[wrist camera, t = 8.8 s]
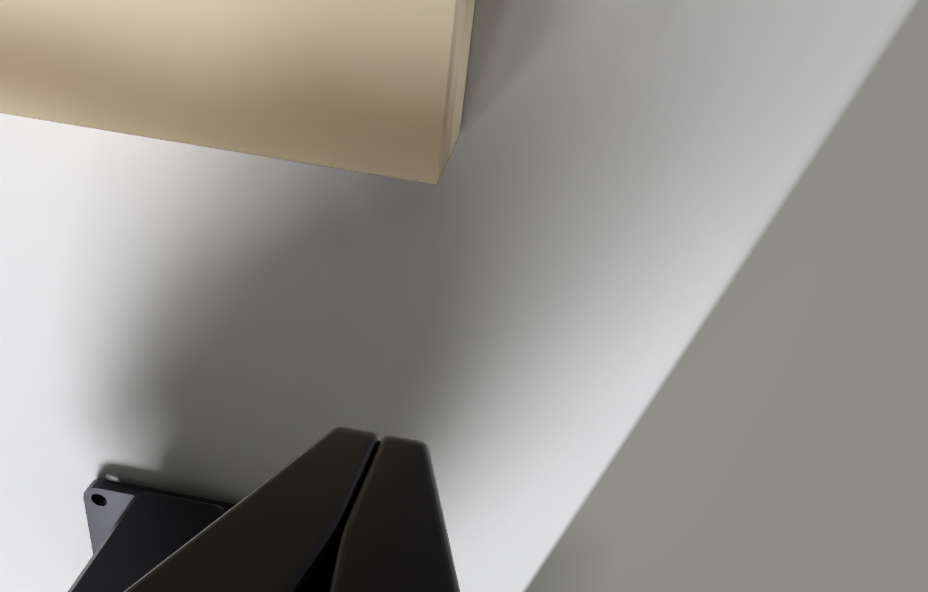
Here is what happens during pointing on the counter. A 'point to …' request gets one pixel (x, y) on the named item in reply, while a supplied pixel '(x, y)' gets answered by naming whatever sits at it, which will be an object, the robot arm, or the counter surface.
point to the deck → (250, 75)
